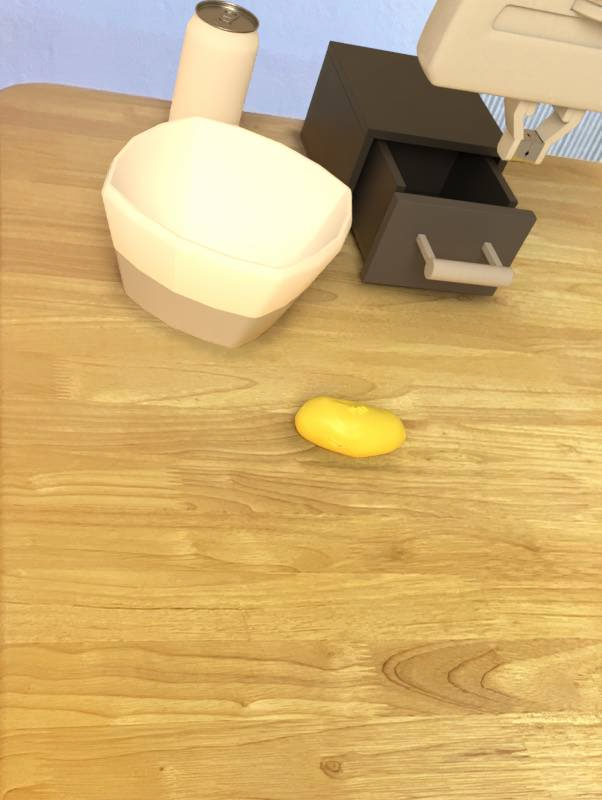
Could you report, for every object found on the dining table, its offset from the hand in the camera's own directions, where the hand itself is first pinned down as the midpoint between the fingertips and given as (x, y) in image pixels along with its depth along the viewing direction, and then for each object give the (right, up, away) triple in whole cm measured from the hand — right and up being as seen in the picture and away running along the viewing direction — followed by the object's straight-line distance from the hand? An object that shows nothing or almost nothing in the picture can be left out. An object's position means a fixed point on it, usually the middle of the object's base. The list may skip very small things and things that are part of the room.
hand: (516, 158), depth 64 cm
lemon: (-13, -21, 0) cm, 25 cm away
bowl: (-23, -8, +7) cm, 25 cm away
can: (-23, +10, +20) cm, 32 cm away
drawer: (-4, -2, +15) cm, 16 cm away
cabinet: (-5, +7, +23) cm, 24 cm away
